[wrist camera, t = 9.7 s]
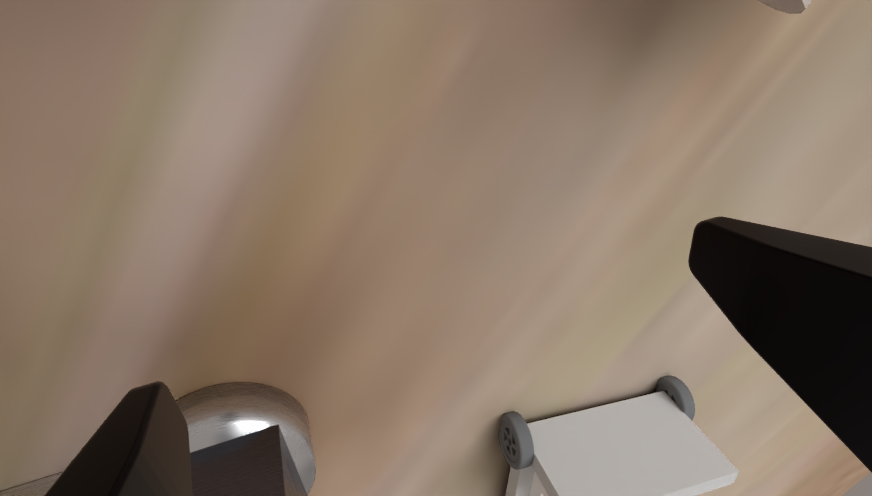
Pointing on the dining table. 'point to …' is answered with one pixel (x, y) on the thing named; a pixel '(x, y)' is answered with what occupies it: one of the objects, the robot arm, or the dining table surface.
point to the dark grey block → (247, 467)
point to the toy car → (616, 450)
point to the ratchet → (230, 425)
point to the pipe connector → (788, 5)
